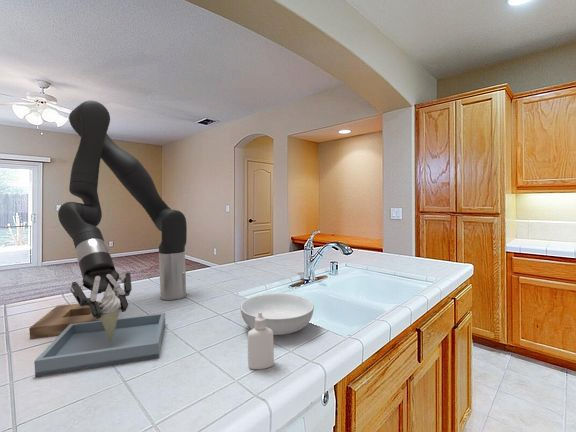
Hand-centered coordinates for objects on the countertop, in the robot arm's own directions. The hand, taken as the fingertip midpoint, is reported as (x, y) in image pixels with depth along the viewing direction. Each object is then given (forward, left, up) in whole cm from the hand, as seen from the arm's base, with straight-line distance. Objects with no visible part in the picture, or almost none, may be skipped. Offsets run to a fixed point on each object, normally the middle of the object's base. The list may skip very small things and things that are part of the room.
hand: (112, 313), depth 75 cm
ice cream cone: (+1, -2, -8) cm, 8 cm away
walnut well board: (+14, -22, -9) cm, 28 cm away
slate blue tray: (+1, -1, -9) cm, 9 cm away
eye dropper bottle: (-33, +20, -9) cm, 40 cm away
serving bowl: (-42, +2, -9) cm, 43 cm away
